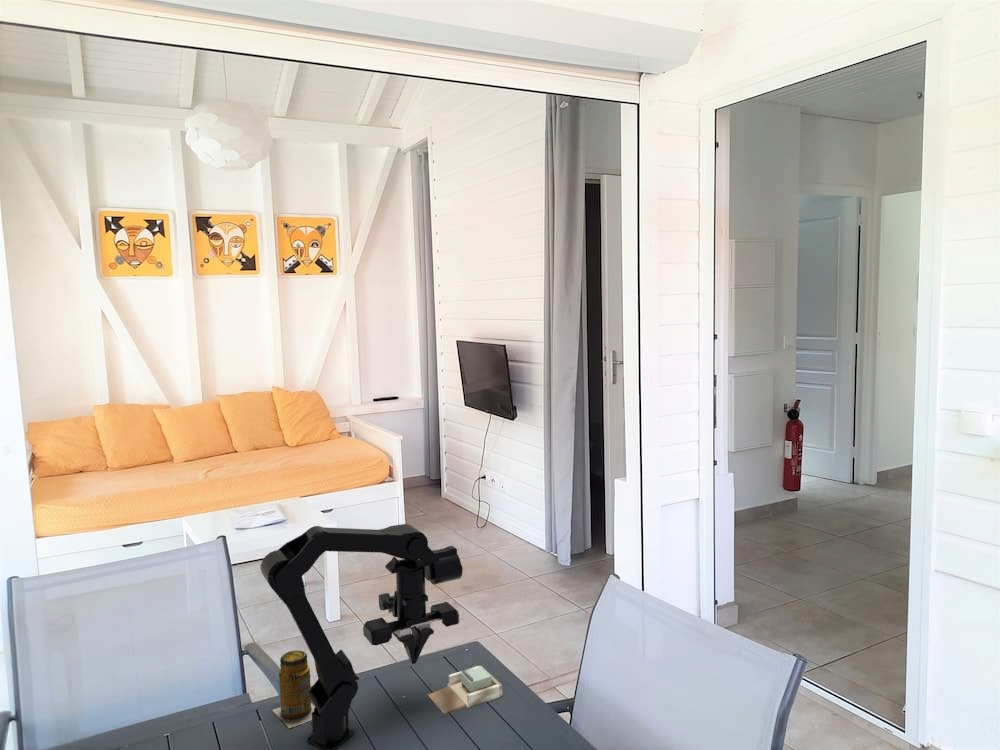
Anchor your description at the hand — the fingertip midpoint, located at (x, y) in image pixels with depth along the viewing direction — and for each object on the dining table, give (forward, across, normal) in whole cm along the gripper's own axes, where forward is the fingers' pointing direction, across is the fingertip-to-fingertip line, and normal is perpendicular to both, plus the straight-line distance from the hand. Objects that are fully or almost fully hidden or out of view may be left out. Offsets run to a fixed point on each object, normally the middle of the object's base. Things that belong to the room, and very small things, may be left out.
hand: (413, 662), depth 146 cm
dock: (+11, -11, 0) cm, 16 cm away
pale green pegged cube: (+10, -14, 0) cm, 17 cm away
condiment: (+11, +21, -12) cm, 26 cm away
